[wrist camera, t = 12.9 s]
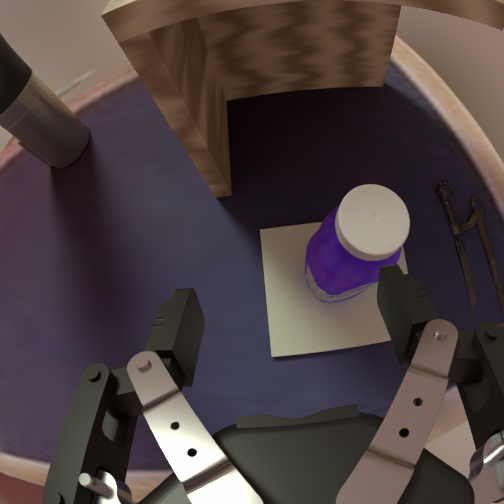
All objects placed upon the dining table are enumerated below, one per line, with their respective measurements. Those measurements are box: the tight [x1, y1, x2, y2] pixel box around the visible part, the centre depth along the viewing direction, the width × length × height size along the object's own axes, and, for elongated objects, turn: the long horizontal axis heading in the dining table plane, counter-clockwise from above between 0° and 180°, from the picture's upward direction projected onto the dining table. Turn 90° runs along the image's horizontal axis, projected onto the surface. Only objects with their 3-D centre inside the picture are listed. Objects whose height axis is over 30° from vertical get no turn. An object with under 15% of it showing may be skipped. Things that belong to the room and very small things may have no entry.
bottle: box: [305, 184, 410, 303], centre depth 23 cm, size 7×6×17 cm
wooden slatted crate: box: [101, 0, 504, 198], centre depth 24 cm, size 26×18×26 cm
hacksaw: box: [437, 181, 504, 328], centre depth 28 cm, size 24×10×2 cm, turn 10°
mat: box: [260, 222, 408, 357], centre depth 31 cm, size 16×14×1 cm
